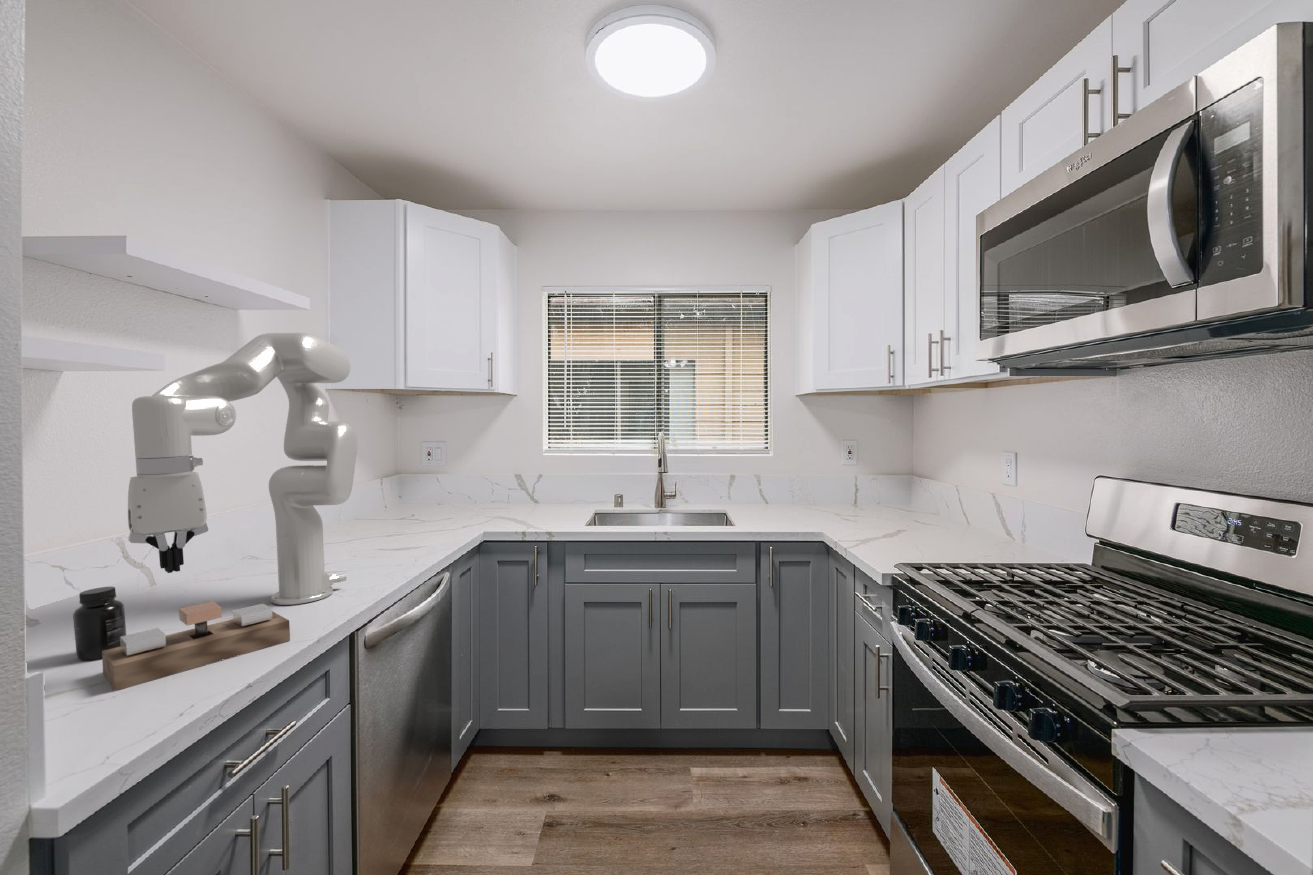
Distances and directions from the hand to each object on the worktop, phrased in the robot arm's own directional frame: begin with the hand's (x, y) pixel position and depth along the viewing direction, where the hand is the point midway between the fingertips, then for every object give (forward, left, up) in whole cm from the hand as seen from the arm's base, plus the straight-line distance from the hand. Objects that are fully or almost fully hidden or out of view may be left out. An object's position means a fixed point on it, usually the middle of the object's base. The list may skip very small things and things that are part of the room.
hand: (172, 570), depth 102 cm
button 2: (-12, 0, -16) cm, 20 cm away
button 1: (+4, 0, -16) cm, 17 cm away
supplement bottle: (+7, -17, -17) cm, 25 cm away
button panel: (-4, 0, -17) cm, 17 cm away
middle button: (-4, 0, -14) cm, 14 cm away
